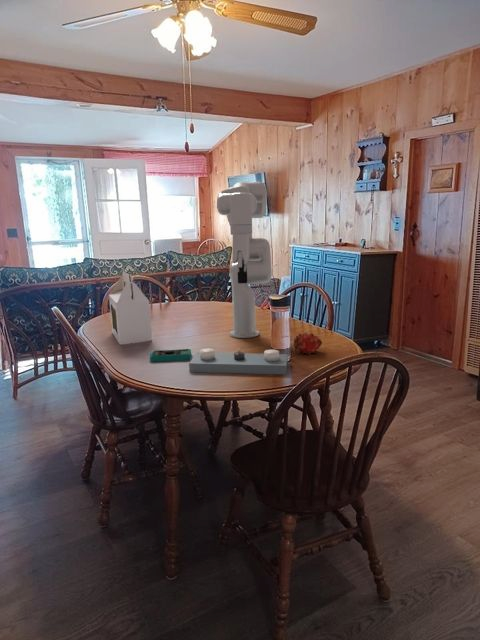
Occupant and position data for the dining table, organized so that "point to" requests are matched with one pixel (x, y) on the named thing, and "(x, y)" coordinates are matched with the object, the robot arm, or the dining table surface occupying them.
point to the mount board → (239, 364)
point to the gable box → (129, 312)
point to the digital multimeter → (170, 355)
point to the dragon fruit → (307, 343)
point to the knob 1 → (207, 354)
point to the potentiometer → (239, 355)
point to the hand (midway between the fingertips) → (242, 282)
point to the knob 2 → (271, 355)
